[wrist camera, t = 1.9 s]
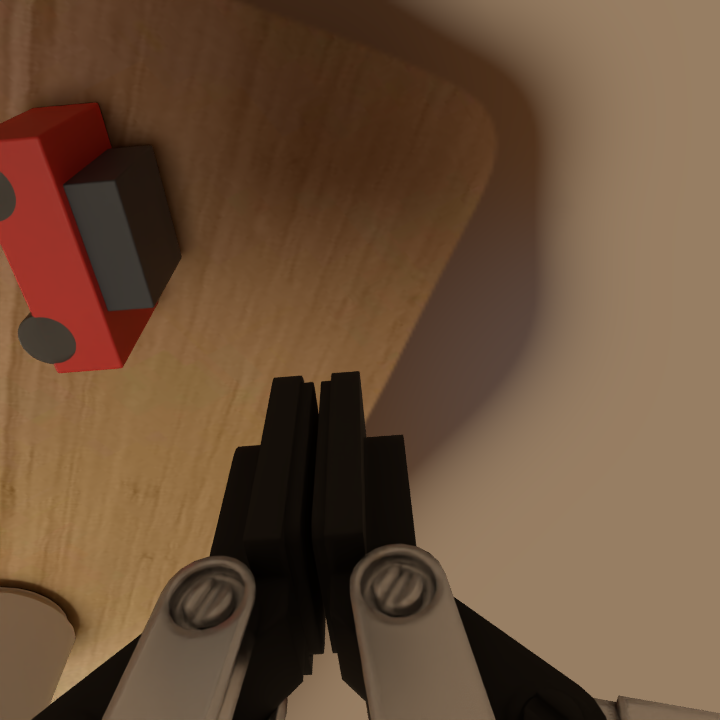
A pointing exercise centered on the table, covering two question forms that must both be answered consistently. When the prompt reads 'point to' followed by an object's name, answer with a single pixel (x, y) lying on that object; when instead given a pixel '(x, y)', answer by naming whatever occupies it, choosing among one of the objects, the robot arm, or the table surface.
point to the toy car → (82, 236)
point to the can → (30, 652)
